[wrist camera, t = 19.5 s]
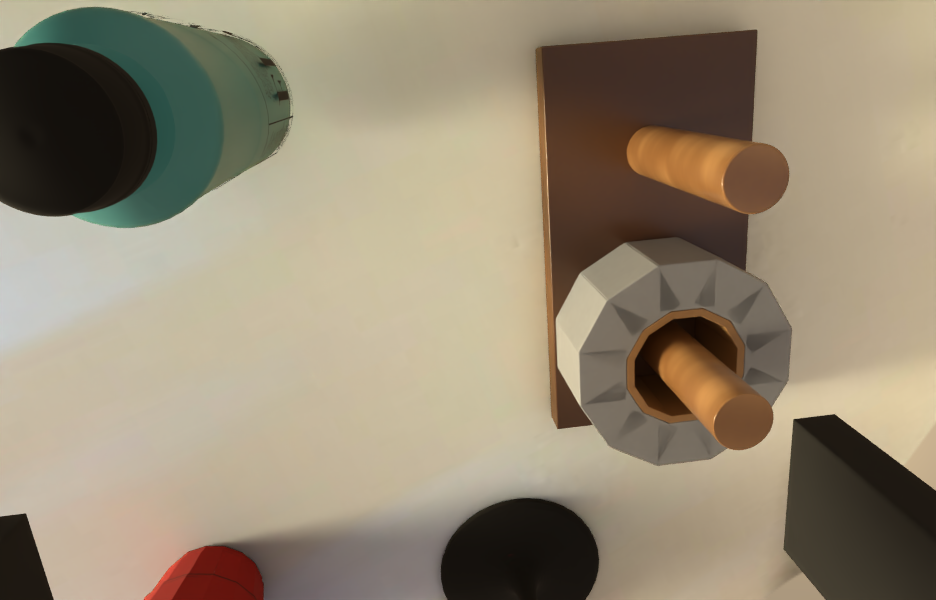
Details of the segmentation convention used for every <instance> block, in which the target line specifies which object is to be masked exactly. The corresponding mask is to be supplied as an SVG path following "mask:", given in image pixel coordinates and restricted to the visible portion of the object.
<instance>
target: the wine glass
mask: <svg viewBox="0 0 936 600" xmlns="http://www.w3.org/2000/svg"><path fill="white" fill-rule="evenodd" d="M598 566H599V556H598V549H597V546H596V542H595V539H594V537H593V535H592V533H591V531H590V530H589V528H588V526H587V525H586V524H585V523H584V522H583V520H582V519H581V518H580V517H578V516H577V515H576V514H575V513H574V512H572V511H570V510H569V509H567V508H565V507H564V506H561V505H559V504H556V503H554V502H550V501H546V500H541V499H530V498H526V499H514V500H509V501H504V502H500V503H497V504H495V505H492V506H489V507H487V508H485V509H483V510H481V511H479V512H478V513H476V514H475V515H474V516H472V517H471V518H469V519H468V520H467V521H466V522H465V523H464V524H462V525H461V526H460V527H459V529H458V530H457V531H456V532H455V534H454V535H453V536H452V538H451V540H450V542H449V543H448V545H447V547H446V550H445V553H444V555H443V559H442V565H441V580H442V586H443V590H444V593H445V595H446V598H447V600H586V598H587V596H588V595H589V593H590V592H591V590H592V588H593V585H594V583H595V581H596V577H597V573H598Z"/></svg>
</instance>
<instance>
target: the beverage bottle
mask: <svg viewBox="0 0 936 600" xmlns="http://www.w3.org/2000/svg"><path fill="white" fill-rule="evenodd" d="M131 12H135V11H130V12H128V11H123V10H118V9H113V8H104V7H85V8H77V9H72V10H67V11H64V12H61V13H58V14H55V15H53V16H51V17H49V18H47V19H45V20H43V21H41V22H39V23H38V24H37V25H35V26H34V27H32V28H31V29H30V30H28V31H27V32H26V33H25V34H24V35H23V36H22V37H21V38H20V39H19V40H18V42H17V43H16V44H15V46H14V47H10V48H5V49H1V50H0V201H1V202H2V203H4V204H6V205H8V206H10V207H12V208H15V209H18V210H20V211H23V212H27V213H31V214H35V215H41V216H68V215H73V216H75V217H77V218H79V219H82V220H85V221H88V222H90V223H94V224H98V225H103V226H109V227H117V228H135V227H143V226H148V225H152V224H156V223H159V222H162V221H165V220H167V219H170V218H172V217H173V216H175V215H177V214H179V213H181V212H182V211H184V210H185V209H187V208H188V207H189V206H191V205H192V204H193V203H194V202H195V201H196V200H197V199H199V198H200V197H202V196H203V195H205V194H206V193H208V192H210V191H211V190H213V189H214V188H216V187H218V186H219V185H221V184H222V183H224V182H226V181H227V182H228V180H229V181H230V179H231V180H232V179H233V177H234V178H235V176H238V175H240V174H241V173H242V172H244V171H246V170H248V169H249V168H251V167H253V166H255V165H257V164H259V163H260V162H262V161H264V159H265V160H266V159H267V157H268V158H269V156H270V155H271V154H272V153H273V152H274V151H275V150H277V149H276V148H277V147H278V149H279V145H280V143H281V141H282V142H283V143H284V141H283V138H285V137H284V136H285V133H287V132H288V131H290V130H287V129H288V128H289V127H288V126H289V118H292V117H293V115H292V116H291V117H290V100H291V98H289V94H288V89H287V87H288V85H289V84H288V85H287V86H286V84H285V81H284V79H283V77H284V75H283V77H282V75H281V73H282V71H281V70H282V69H281V70H280V71H281V73H280V71H279V70H278V68H277V67H276V65H275V64H274V62H275V61H274V60H273V59H272V58H273V57H272V56H271V55H270V54H269V53H268V54H269V55H270V56H271V57H272V58H271V59H272V60H273V61H274V62H273V61H272V60H271V59H270V58H269V56H268V55H267V54H266V55H267V56H268V57H267V56H266V55H265V54H264V53H263V52H262V51H260V50H261V49H262V47H261V49H260V48H259V47H257V46H258V45H257V46H253V45H251V44H249V43H247V42H245V41H243V40H245V39H243V40H240V39H242V38H241V37H240V39H237V38H234V37H230V36H226V34H225V35H222V34H218V33H213V32H209V31H212V29H209V31H205V30H204V29H203V28H201V27H200V26H195V24H194V25H191V24H190V27H188V25H186V26H184V25H180V24H176V23H171V22H167V21H162V20H158V19H152V18H154V17H153V16H154V15H152V16H150V17H151V18H145V17H143V16H140V15H137V14H134V13H131ZM144 13H145V14H144ZM144 13H142V15H146V14H147V13H146V12H144ZM149 15H151V14H149ZM149 15H146V16H149ZM159 17H160V16H159ZM167 17H168V16H167ZM163 18H164V17H163ZM189 23H190V22H189ZM182 24H183V23H182ZM192 24H193V23H192ZM197 27H200V28H197ZM201 29H203V30H201ZM215 31H216V30H215ZM222 32H225V31H222ZM225 33H227V34H229V35H232V33H229V32H225ZM223 34H224V33H223ZM235 35H236V34H235ZM233 36H234V35H233ZM235 37H237V36H235ZM238 38H239V36H238ZM247 40H248V39H247ZM247 40H246V41H247ZM250 41H251V40H250ZM250 41H248V42H250ZM251 43H252V42H251ZM254 45H255V43H254ZM256 47H257V48H256ZM258 48H259V49H260V50H259V49H258ZM262 50H263V49H262ZM263 51H264V50H263ZM276 63H277V62H276ZM277 64H278V63H277ZM279 67H280V66H279ZM284 78H285V77H284ZM287 82H288V81H287ZM290 91H291V90H290ZM290 91H289V92H290ZM291 96H292V95H291ZM292 104H293V101H292ZM291 123H292V122H291ZM287 127H288V128H287ZM286 131H287V132H286ZM287 134H289V133H287ZM285 139H286V138H285ZM285 141H286V140H285ZM281 145H282V143H281ZM275 154H276V153H275ZM273 155H274V154H273ZM273 155H272V156H273ZM270 157H271V156H270ZM227 182H226V183H227ZM224 184H225V183H224ZM221 186H222V185H221ZM219 187H220V186H219ZM219 187H218V188H219ZM216 189H217V188H216Z"/></svg>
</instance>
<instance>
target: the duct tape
mask: <svg viewBox="0 0 936 600" xmlns="http://www.w3.org/2000/svg"><path fill="white" fill-rule="evenodd" d="M689 317H696V326H695V339H696V340H697V341H698V342H699V343H700V344H702V345H703V346H704V347H705V348H706V349H707V350H709V351H710V352H711V353H712V354H713V355H714V356H716V357H717V358H718V359H719V360H720V361H721V362H723V363H724V364H725V365H726V366H727V367H728V368H730V369H731V370H732V371H733V372H734V373H735V374H737V375H738V376H739V377H740V378H741V379H743V380H744V381H745V382H746V383H747V384H748V385H750V386H751V387H752V388H753V389H754V390H755V391H757V392H758V393H759V394H760V395H761V396H762V397H764V398H765V399H766V400H767V401H768V402H769V404H770V405H771V407H772V406H773V404H774V402H775V401H776V399H777V398H778V396H779V395H780V393H781V391H782V390H783V388H784V387H785V385H786V383H787V381H788V376H789V362H790V348H791V335H792V328H791V326H790V324H789V322H788V320H787V319H786V317H785V315H784V313H783V311H782V310H781V308H780V306H779V304H778V302H777V301H776V299H775V297H774V295H773V293H772V292H771V290H770V288H769V286H768V284H767V283H766V282H764V281H763V280H761V279H759V278H757V277H755V276H753V275H751V274H750V273H748V272H746V271H744V270H742V269H740V268H738V267H737V266H735V265H733V264H731V263H729V262H727V261H726V260H724V259H722V258H720V257H718V256H716V255H714V254H712V253H710V252H708V251H706V250H703V249H701V248H699V247H697V246H695V245H693V244H691V243H689V242H687V241H685V240H683V239H681V238H679V237H672V238H662V239H652V240H642V241H632V242H626V243H623V244H622V245H620V246H619V247H617V248H616V249H614V250H613V251H611V252H610V253H609V254H607V255H606V256H604V257H603V258H601V259H600V260H598V261H597V262H595V263H594V264H592V265H591V266H589V267H588V268H586V269H585V270H584V271H582V272H581V273H580V274H579V276H578V278H577V280H576V281H575V283H574V285H573V287H572V289H571V291H570V293H569V295H568V297H567V298H566V300H565V302H564V304H563V306H562V308H561V310H560V312H559V314H558V315H557V317H556V340H557V365H558V369H559V370H560V372H561V374H562V376H563V377H564V379H565V381H566V383H567V384H568V386H569V388H570V390H571V391H572V393H573V395H574V397H575V398H576V400H577V402H578V404H579V405H580V407H581V408H582V410H583V411H584V413H585V414H586V415H587V417H588V418H589V420H590V421H591V422H592V424H593V425H594V427H595V428H596V429H597V431H598V432H599V434H600V435H601V437H602V438H603V439H604V441H605V442H606V444H607V445H608V446H609V447H610V448H613V449H615V450H618V451H621V452H623V453H626V454H628V455H631V456H633V457H636V458H638V459H641V460H643V461H646V462H648V463H651V464H653V465H657V466H660V465H668V464H676V463H684V462H692V461H700V460H708V459H712V458H713V457H715V456H716V455H718V454H719V453H721V452H723V451H724V450H726V449H727V448H726V447H724V446H722V445H721V444H720V443H719V442H718V441H717V440H716V439H715V438H714V437H713V435H712V434H711V433H710V432H709V431H708V430H707V429H706V428H705V427H704V425H703V424H702V423H701V422H700V421H699V420H698V419H697V418H696V417H695V415H694V414H693V413H692V412H691V411H690V410H689V409H688V408H687V407H686V405H685V404H684V403H683V402H682V401H681V400H680V399H679V398H678V397H677V396H676V394H675V393H674V392H673V391H672V390H671V389H670V388H669V387H668V386H667V384H666V383H665V382H664V381H663V380H662V379H661V378H660V377H659V376H658V374H656V375H647V376H636V375H635V359H636V357H637V355H638V353H639V352H640V350H641V348H642V346H643V344H644V343H645V341H646V339H647V337H648V336H649V335H650V334H652V333H653V332H655V331H656V330H658V329H659V328H661V327H662V326H664V325H665V324H667V323H668V322H670V321H671V320H673V319H680V318H689Z"/></svg>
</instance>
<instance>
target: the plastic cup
mask: <svg viewBox="0 0 936 600" xmlns="http://www.w3.org/2000/svg"><path fill="white" fill-rule="evenodd" d="M144 600H264V584H263V582H262V576H261V574H260V572H259V570H258V568H257V566H256V564H255V563H254V562H253V561H252V560H251V559H249V558H248V557H247V556H246V555H245V554H243V553H242V552H239V551H237V550H234V549H231V548H228V547H225V546H205V547H202V548H199V549H196V550H193V551H190V552H188V553H186V554H185V555H184V556H183V557H182V558H180V559H179V560H178V561H177V562H176V563H175V564H174V565H172V566H171V567H170V568H169V569H168V570H167V572H166V573H165V574H164V576H163V577H162V579H161V580H160V581H159V583H158V584H157V585H156V587H155V588H154V589H153V591H152V592H151V593H149V594H148V595H147V596H146V597H145V598H144Z"/></svg>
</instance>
